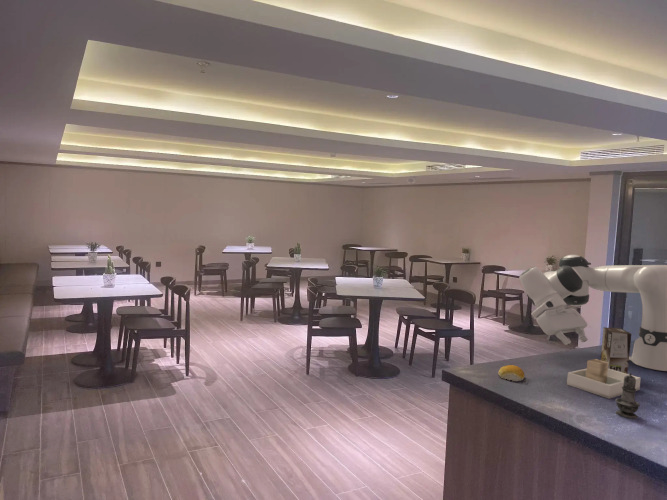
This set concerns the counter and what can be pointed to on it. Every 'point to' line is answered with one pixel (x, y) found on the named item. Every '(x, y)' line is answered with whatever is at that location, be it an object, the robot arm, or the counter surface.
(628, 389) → the dark grey upright piece
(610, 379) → the caddy
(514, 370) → the bread roll
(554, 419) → the counter surface
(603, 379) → the maple block
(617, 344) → the coffee box
